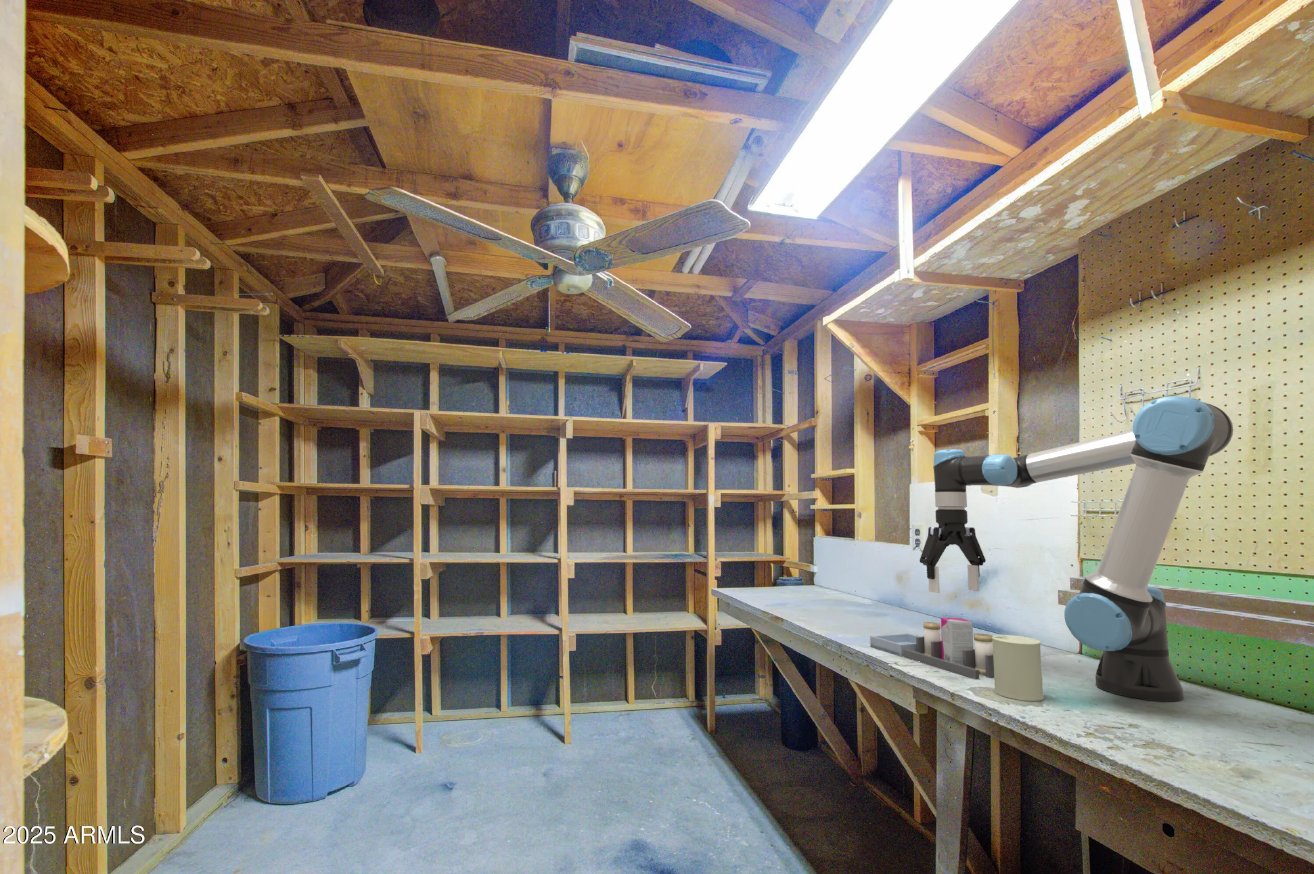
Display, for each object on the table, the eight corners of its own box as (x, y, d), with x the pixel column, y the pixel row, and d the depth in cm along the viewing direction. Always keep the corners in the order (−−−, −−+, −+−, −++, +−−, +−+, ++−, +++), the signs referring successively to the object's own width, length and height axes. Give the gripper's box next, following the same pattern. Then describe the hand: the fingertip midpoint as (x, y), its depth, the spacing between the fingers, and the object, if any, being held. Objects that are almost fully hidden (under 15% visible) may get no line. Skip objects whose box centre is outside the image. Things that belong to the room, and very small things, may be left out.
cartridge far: (945, 659, 160) (943, 624, 161) (933, 660, 159) (931, 625, 160) (932, 655, 164) (931, 621, 165) (920, 656, 162) (919, 622, 163)
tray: (940, 652, 167) (940, 641, 168) (901, 656, 162) (901, 644, 163) (908, 643, 179) (908, 633, 179) (870, 646, 173) (870, 636, 174)
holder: (1017, 674, 146) (1016, 652, 147) (975, 679, 141) (974, 657, 142) (942, 653, 167) (941, 634, 167) (904, 657, 162) (903, 637, 162)
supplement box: (975, 668, 151) (973, 621, 152) (951, 668, 151) (949, 620, 152) (964, 662, 157) (962, 617, 158) (941, 662, 157) (939, 616, 158)
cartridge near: (999, 674, 145) (997, 636, 146) (986, 676, 144) (984, 637, 145) (983, 670, 149) (982, 632, 150) (971, 671, 148) (969, 633, 149)
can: (996, 685, 136) (993, 630, 137) (1045, 693, 131) (1041, 636, 132) (991, 695, 129) (988, 637, 130) (1042, 704, 123) (1039, 643, 125)
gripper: (974, 509, 167) (977, 587, 164) (903, 507, 158) (905, 590, 155) (998, 509, 160) (1002, 591, 157) (925, 507, 151) (928, 594, 148)
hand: (954, 591), depth 156 cm, fingers open, 13 cm apart
